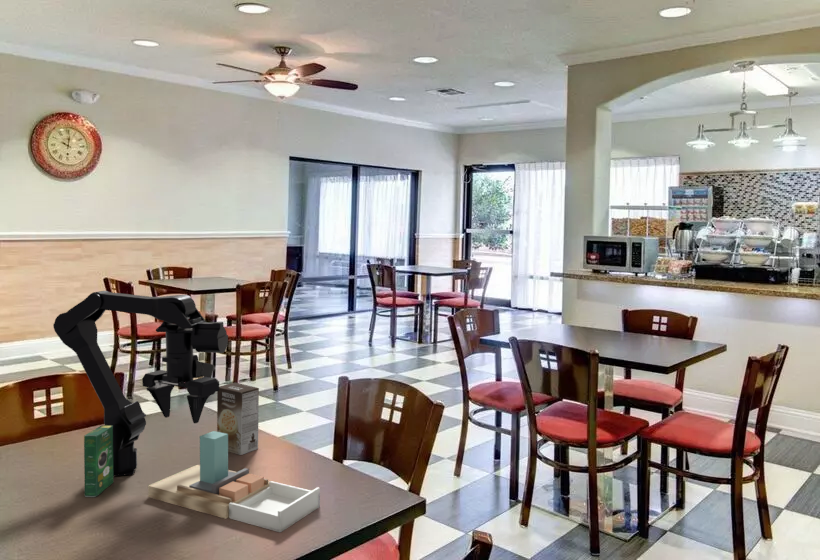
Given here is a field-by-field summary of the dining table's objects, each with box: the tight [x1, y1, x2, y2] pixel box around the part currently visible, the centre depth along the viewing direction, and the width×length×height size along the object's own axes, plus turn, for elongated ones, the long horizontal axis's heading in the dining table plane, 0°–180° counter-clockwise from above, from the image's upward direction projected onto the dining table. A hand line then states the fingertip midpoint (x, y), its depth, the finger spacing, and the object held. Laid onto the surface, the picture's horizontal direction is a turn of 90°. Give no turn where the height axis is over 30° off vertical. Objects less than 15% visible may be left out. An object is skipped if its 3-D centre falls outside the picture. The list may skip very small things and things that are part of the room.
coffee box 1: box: [83, 424, 114, 498], centre depth 141 cm, size 8×3×13 cm, turn 0°
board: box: [147, 464, 270, 520], centre depth 140 cm, size 21×14×4 cm, turn 64°
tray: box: [228, 480, 321, 533], centre depth 132 cm, size 12×13×4 cm
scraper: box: [189, 430, 250, 495], centre depth 138 cm, size 7×10×10 cm
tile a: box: [236, 473, 265, 493], centre depth 138 cm, size 4×4×2 cm
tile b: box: [219, 481, 248, 502], centre depth 133 cm, size 4×4×2 cm
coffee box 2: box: [216, 381, 260, 456], centre depth 168 cm, size 9×6×16 cm
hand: (181, 420), depth 149 cm, fingers open, 9 cm apart
